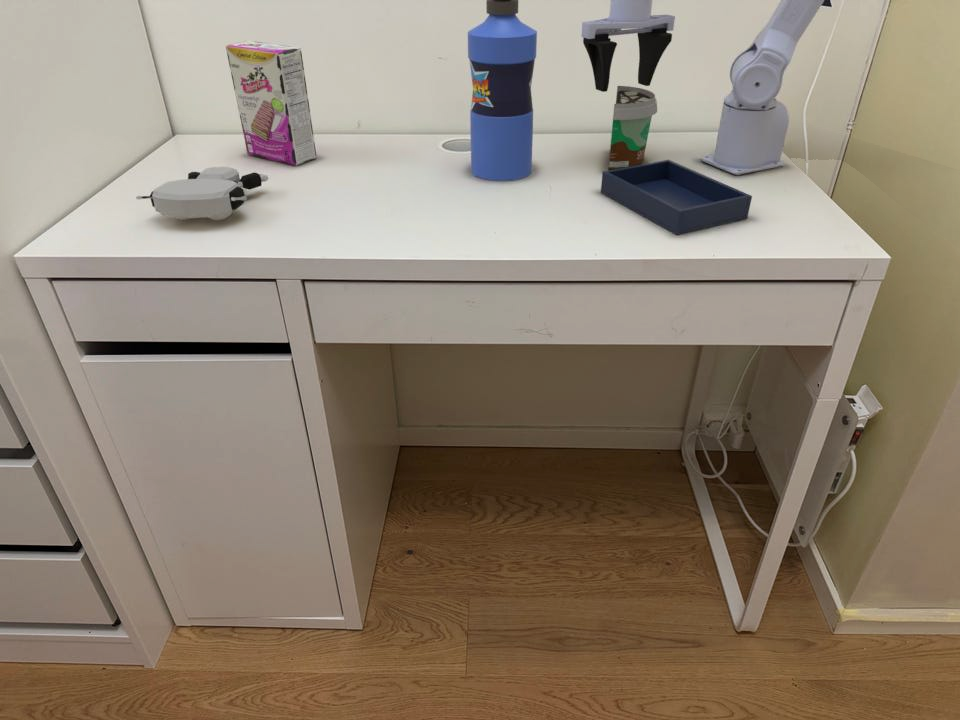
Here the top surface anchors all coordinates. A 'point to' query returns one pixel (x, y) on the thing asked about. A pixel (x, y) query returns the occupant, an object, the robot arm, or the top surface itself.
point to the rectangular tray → (675, 196)
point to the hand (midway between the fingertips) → (622, 87)
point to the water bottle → (501, 93)
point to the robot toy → (204, 194)
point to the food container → (630, 126)
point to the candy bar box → (272, 101)
